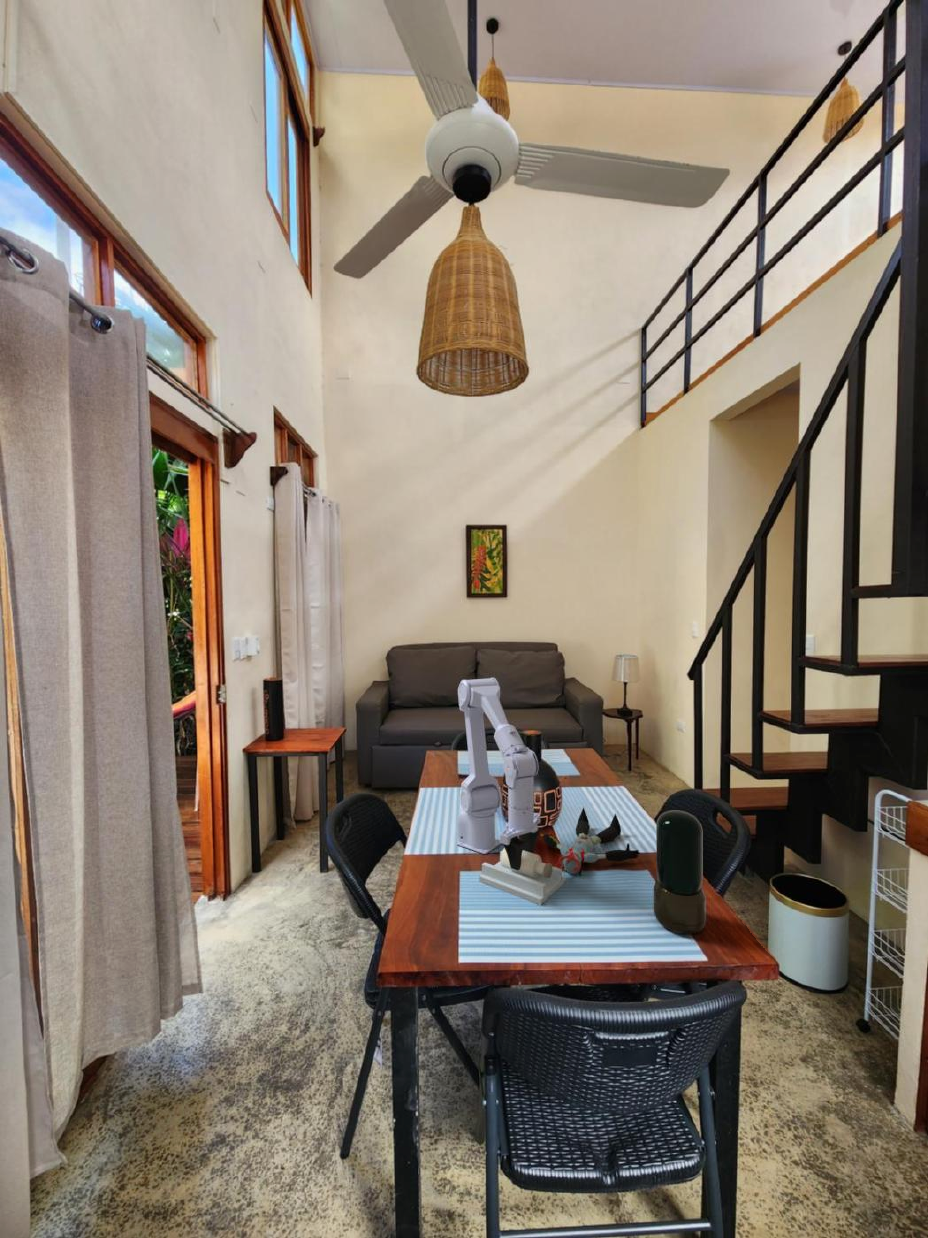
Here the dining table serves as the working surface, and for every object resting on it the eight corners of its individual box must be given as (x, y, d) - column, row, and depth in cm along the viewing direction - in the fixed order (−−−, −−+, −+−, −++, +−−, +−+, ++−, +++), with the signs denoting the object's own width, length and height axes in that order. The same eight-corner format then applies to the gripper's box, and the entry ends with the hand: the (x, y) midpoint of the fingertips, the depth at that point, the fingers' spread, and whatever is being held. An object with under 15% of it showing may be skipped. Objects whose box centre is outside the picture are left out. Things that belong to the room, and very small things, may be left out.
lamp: (705, 943, 96) (705, 826, 95) (651, 930, 100) (651, 818, 99) (705, 915, 105) (705, 808, 104) (655, 904, 109) (655, 800, 108)
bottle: (500, 870, 119) (500, 850, 118) (511, 862, 122) (511, 842, 122) (544, 886, 112) (543, 865, 111) (554, 876, 115) (554, 856, 115)
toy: (648, 818, 138) (624, 862, 111) (648, 848, 137) (624, 898, 111) (556, 802, 150) (515, 837, 124) (556, 828, 150) (514, 870, 124)
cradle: (479, 881, 118) (478, 866, 118) (505, 862, 127) (505, 848, 127) (540, 905, 109) (540, 889, 109) (564, 882, 117) (564, 867, 117)
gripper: (519, 819, 109) (519, 883, 110) (551, 799, 121) (552, 856, 121) (491, 812, 114) (492, 873, 114) (525, 792, 125) (525, 848, 125)
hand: (521, 864), depth 118 cm, fingers closed on bottle, 5 cm apart
